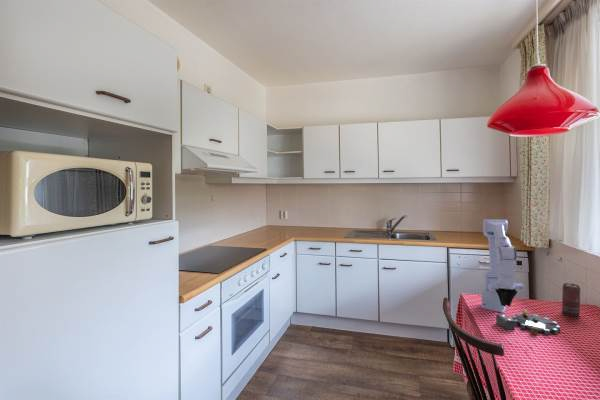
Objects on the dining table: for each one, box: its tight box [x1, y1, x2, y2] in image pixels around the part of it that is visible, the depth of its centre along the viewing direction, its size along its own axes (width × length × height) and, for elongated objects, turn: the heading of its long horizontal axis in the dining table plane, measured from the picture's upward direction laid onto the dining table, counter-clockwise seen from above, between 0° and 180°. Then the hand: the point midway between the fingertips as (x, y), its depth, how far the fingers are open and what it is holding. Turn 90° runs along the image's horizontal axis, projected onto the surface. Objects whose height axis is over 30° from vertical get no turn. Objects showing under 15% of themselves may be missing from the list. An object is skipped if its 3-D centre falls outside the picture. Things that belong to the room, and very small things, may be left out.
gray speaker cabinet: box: [495, 313, 516, 331], centre depth 131 cm, size 6×4×4 cm, turn 0°
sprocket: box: [512, 309, 561, 335], centre depth 132 cm, size 16×16×4 cm
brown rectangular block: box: [530, 327, 538, 336], centre depth 124 cm, size 2×1×3 cm, turn 50°
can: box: [561, 282, 581, 318], centre depth 141 cm, size 6×6×14 cm
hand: (505, 305), depth 131 cm, fingers closed
